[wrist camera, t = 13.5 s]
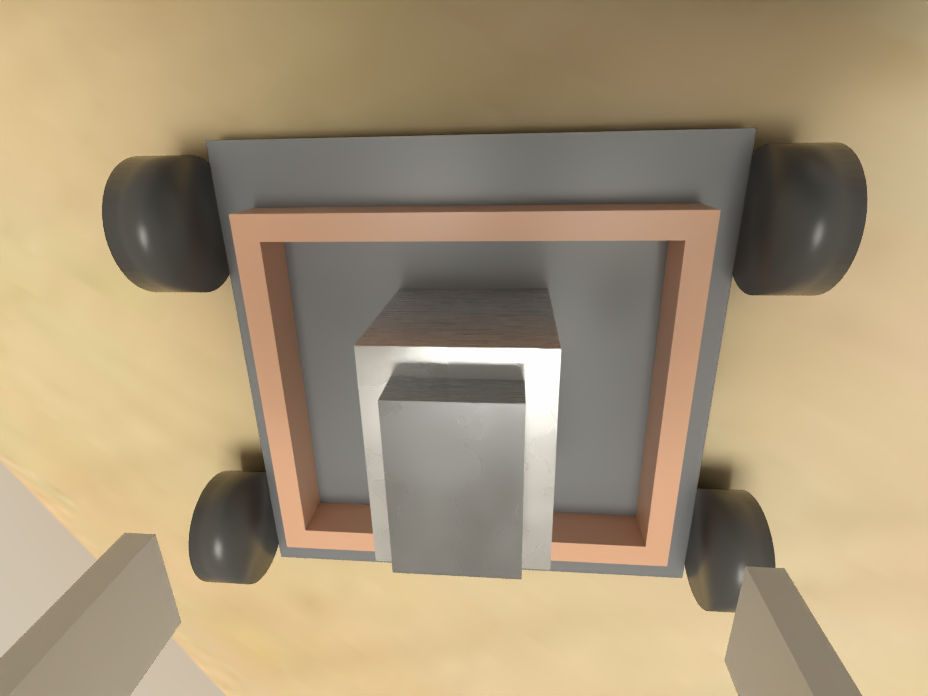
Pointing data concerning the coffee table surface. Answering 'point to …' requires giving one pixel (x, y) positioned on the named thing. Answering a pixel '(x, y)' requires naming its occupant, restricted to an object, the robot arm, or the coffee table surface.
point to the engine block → (461, 430)
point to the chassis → (493, 267)
